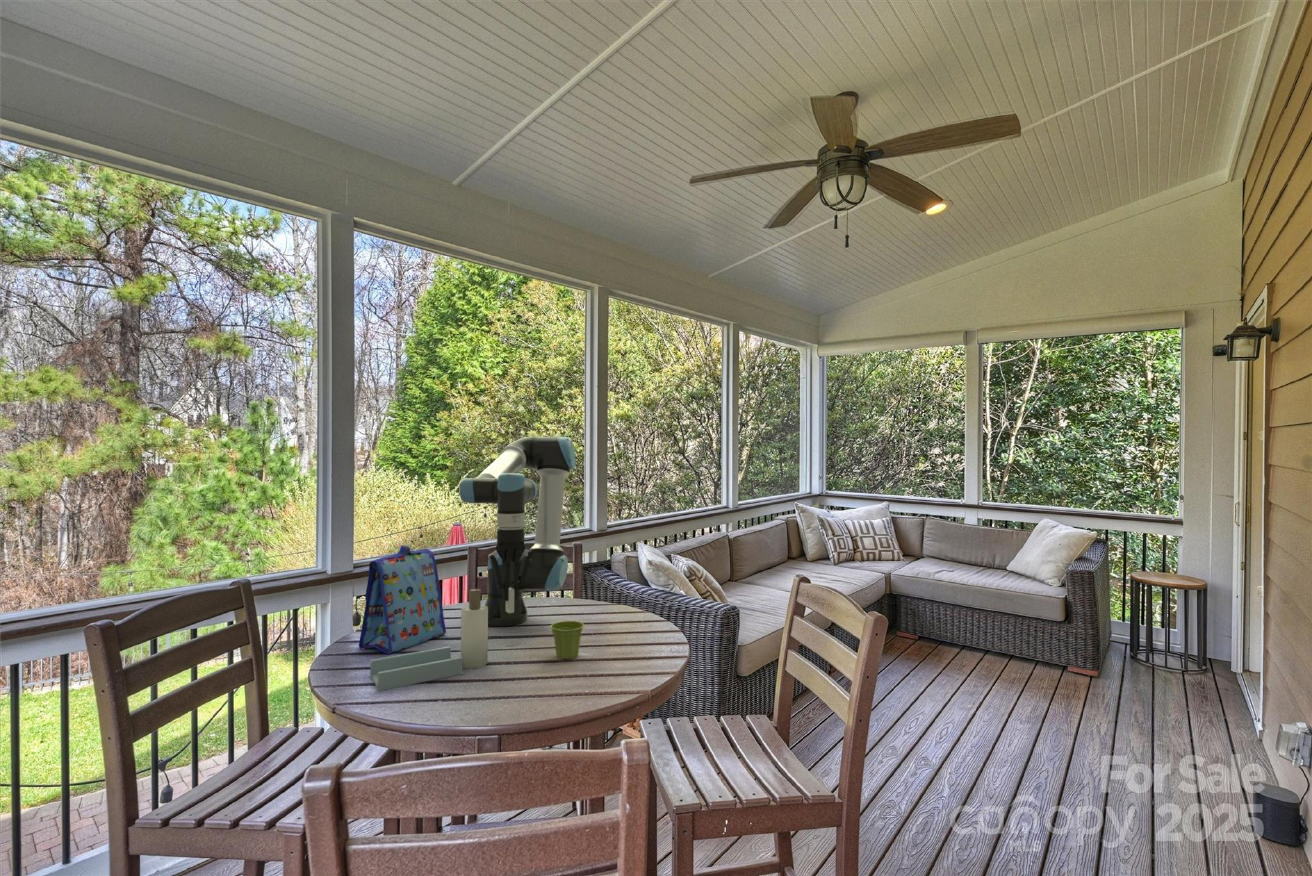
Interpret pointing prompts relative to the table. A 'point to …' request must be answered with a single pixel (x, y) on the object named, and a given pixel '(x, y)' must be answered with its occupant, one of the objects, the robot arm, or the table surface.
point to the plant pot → (567, 638)
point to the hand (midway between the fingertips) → (509, 611)
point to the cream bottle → (474, 632)
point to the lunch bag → (402, 601)
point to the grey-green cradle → (414, 668)
